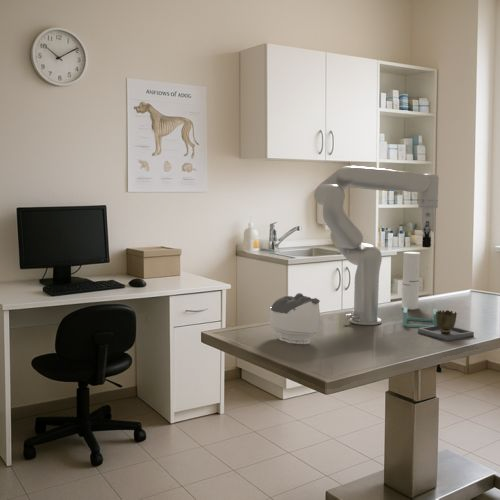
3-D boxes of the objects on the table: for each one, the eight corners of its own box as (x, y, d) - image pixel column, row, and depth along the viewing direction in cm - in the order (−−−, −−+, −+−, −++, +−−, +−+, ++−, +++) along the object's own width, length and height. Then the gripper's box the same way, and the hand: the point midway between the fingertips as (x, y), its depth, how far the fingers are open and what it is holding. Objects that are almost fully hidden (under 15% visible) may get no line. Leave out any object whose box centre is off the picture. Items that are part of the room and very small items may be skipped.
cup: (430, 331, 230) (431, 310, 229) (446, 329, 233) (447, 309, 232) (444, 336, 223) (445, 314, 222) (460, 334, 226) (461, 313, 225)
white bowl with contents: (328, 342, 216) (285, 332, 230) (329, 294, 214) (286, 287, 228) (305, 349, 207) (262, 338, 220) (306, 299, 205) (262, 292, 218)
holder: (437, 328, 237) (437, 314, 236) (402, 326, 240) (403, 312, 240) (436, 321, 248) (436, 308, 248) (403, 319, 252) (403, 306, 251)
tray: (446, 341, 218) (446, 336, 218) (418, 332, 230) (418, 328, 230) (473, 336, 225) (473, 331, 225) (444, 328, 237) (444, 324, 237)
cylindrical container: (418, 309, 271) (420, 253, 268) (401, 308, 272) (403, 253, 270) (417, 306, 278) (419, 252, 275) (401, 305, 279) (403, 251, 276)
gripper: (438, 205, 240) (436, 248, 242) (437, 203, 256) (435, 244, 258) (418, 205, 242) (416, 248, 244) (418, 203, 258) (417, 243, 260)
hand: (426, 246), depth 251 cm, fingers open, 9 cm apart
